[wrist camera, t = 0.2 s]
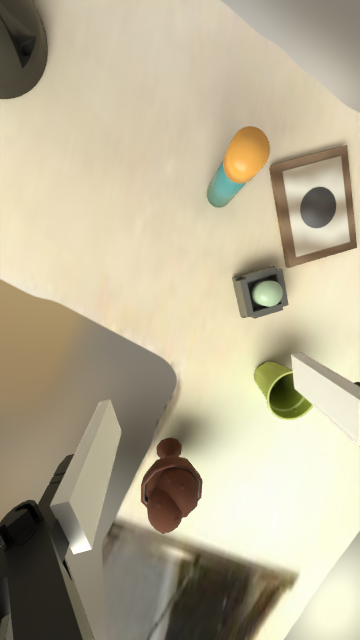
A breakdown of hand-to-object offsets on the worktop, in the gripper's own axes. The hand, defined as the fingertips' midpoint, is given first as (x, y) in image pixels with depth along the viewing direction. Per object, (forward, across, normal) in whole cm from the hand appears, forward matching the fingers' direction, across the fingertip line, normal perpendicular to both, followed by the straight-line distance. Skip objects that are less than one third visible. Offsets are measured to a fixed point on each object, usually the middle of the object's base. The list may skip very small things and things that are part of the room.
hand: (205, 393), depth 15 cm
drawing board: (+28, +29, +13) cm, 43 cm away
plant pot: (+27, +16, -17) cm, 36 cm away
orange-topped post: (+28, +12, +20) cm, 36 cm away
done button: (+25, +16, +1) cm, 29 cm away
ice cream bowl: (+25, -9, -28) cm, 39 cm away
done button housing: (+27, +16, +1) cm, 32 cm away
